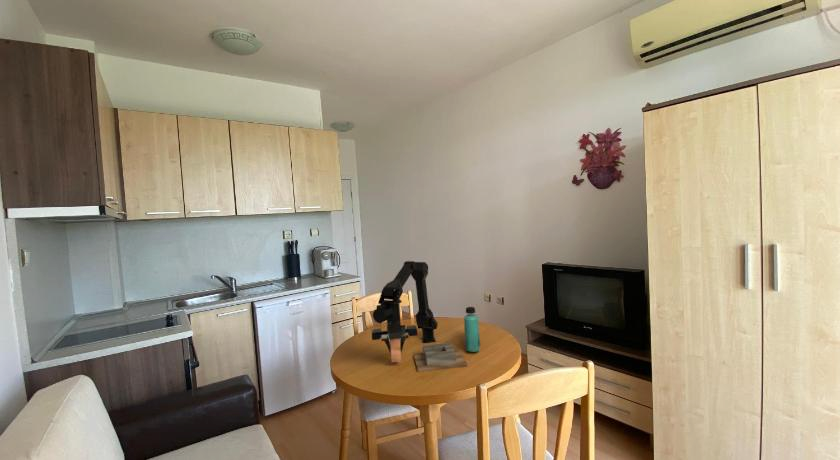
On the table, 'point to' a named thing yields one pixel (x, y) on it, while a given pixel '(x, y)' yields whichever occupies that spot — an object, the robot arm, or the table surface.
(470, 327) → the beverage bottle
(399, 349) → the peg
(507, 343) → the table surface
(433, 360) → the socket board
